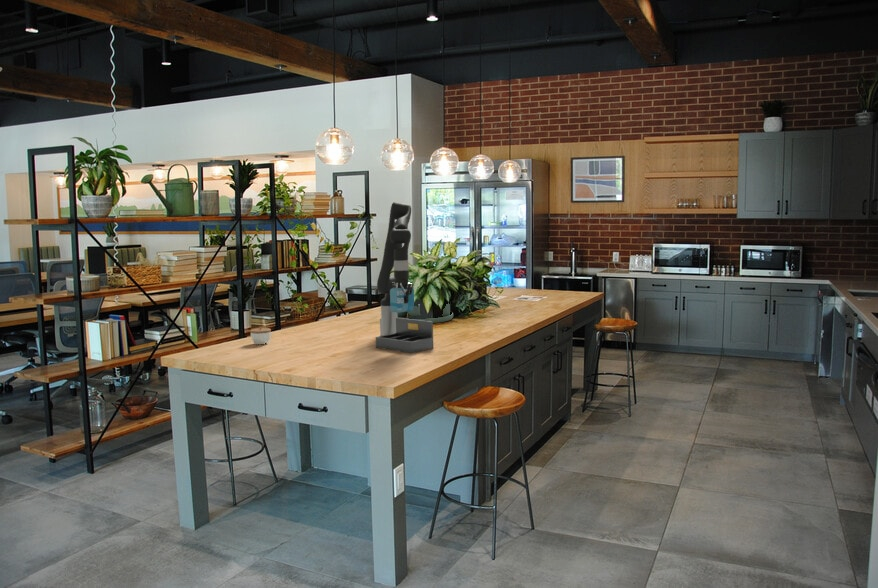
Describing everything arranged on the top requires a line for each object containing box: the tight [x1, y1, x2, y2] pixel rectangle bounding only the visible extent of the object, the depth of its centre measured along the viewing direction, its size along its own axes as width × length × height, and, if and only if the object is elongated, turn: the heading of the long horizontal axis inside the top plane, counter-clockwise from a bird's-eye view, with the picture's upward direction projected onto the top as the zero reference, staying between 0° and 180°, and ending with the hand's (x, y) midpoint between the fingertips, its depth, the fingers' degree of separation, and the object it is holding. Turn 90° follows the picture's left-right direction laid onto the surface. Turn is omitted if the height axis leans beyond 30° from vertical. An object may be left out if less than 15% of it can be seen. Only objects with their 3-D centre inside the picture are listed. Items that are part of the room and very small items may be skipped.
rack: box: [375, 318, 434, 354], centre depth 355 cm, size 25×16×14 cm, turn 50°
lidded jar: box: [249, 326, 272, 345], centre depth 376 cm, size 11×11×9 cm
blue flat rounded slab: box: [390, 288, 415, 313], centre depth 353 cm, size 12×4×12 cm, turn 133°
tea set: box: [398, 303, 454, 324], centre depth 450 cm, size 40×40×16 cm
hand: (402, 302), depth 353 cm, fingers closed on blue flat rounded slab, 4 cm apart
